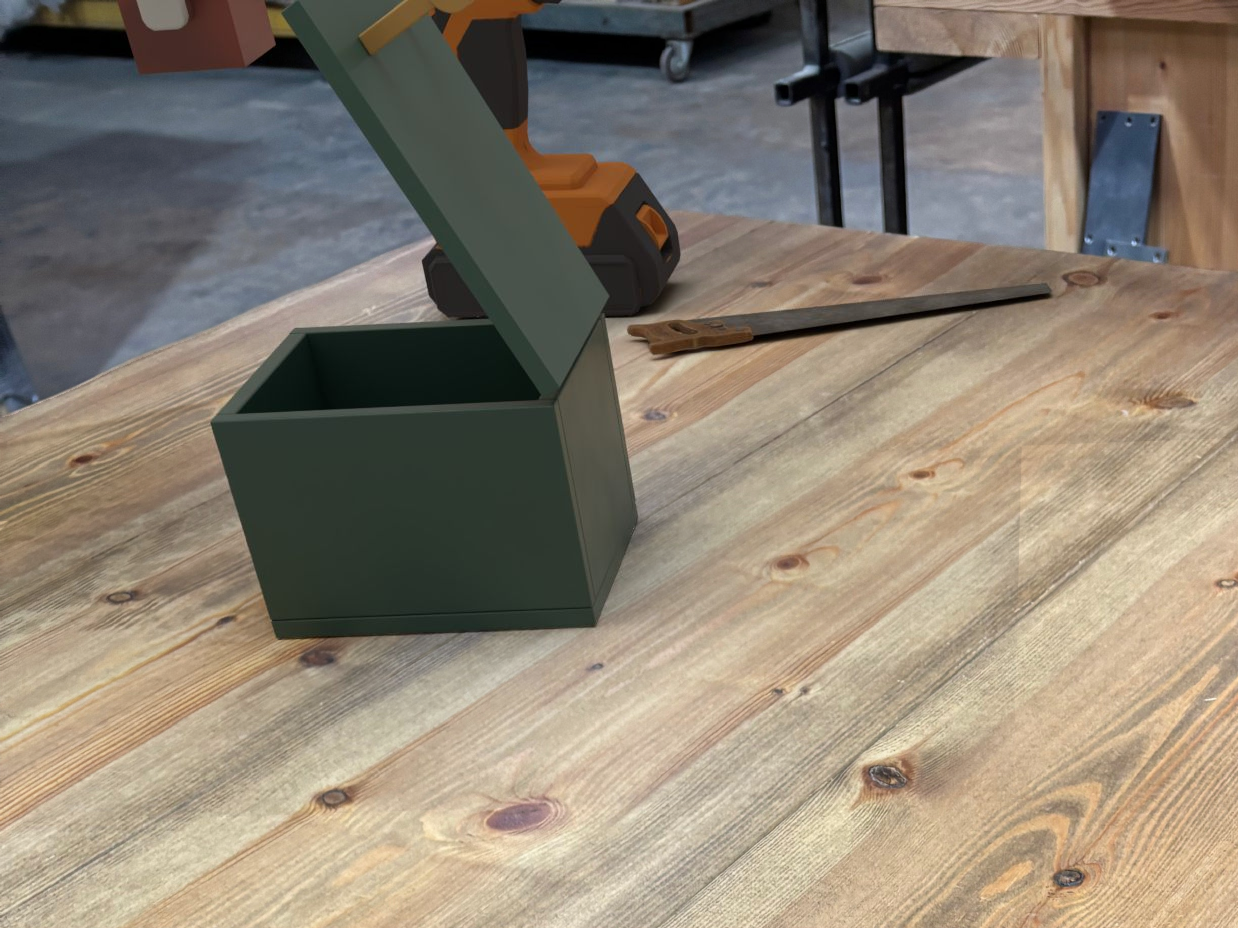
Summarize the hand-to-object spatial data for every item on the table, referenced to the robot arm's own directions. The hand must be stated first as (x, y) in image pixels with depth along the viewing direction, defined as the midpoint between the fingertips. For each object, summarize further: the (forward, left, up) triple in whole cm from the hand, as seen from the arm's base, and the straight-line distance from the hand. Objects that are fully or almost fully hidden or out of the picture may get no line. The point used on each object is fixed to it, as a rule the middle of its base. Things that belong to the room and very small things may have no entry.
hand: (194, 13), depth 82 cm
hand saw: (+31, +7, -19) cm, 37 cm away
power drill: (+21, +20, -20) cm, 35 cm away
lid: (+6, -18, -4) cm, 19 cm away
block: (0, 0, -2) cm, 2 cm away
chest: (+3, -16, -19) cm, 25 cm away
